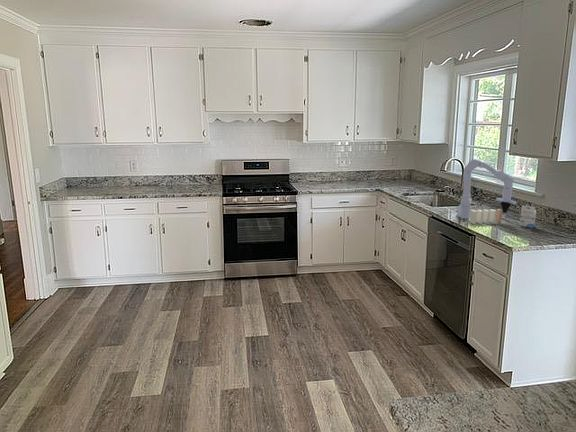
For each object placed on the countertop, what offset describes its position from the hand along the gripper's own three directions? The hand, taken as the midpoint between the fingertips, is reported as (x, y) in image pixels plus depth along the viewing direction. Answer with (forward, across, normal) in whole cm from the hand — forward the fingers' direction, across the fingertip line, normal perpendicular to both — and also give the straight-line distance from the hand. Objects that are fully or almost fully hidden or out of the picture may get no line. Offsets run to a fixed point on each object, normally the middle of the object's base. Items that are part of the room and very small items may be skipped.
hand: (504, 212), depth 300 cm
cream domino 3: (+7, -4, -14) cm, 16 cm away
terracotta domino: (+7, -1, -4) cm, 8 cm away
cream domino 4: (+7, -3, -9) cm, 11 cm away
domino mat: (+7, -5, -11) cm, 14 cm away
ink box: (+8, +14, +5) cm, 17 cm away
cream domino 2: (+7, -6, -18) cm, 20 cm away
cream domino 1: (+7, -7, -23) cm, 25 cm away
